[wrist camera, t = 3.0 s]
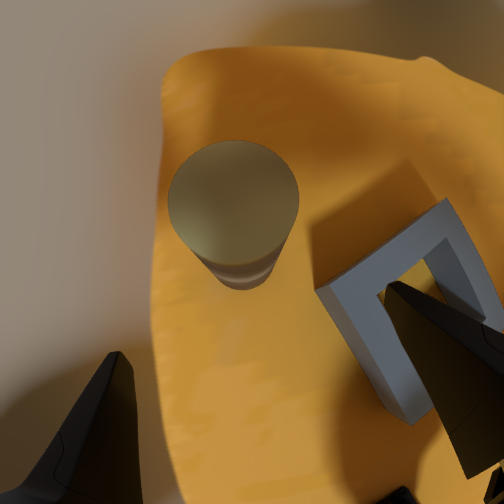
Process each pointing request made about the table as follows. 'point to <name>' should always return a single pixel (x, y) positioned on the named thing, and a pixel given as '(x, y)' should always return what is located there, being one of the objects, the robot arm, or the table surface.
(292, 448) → the table surface
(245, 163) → the walnut pin
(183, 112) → the table surface
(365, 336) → the socket block
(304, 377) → the table surface
